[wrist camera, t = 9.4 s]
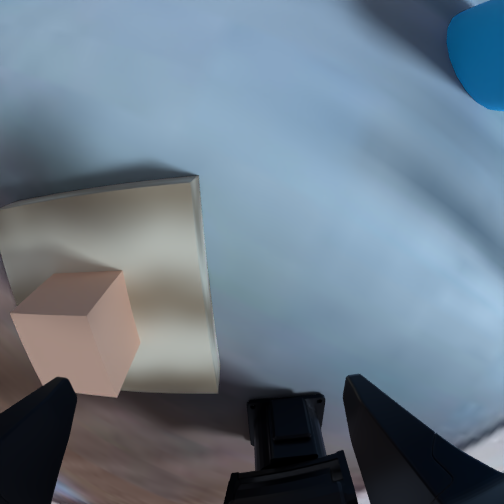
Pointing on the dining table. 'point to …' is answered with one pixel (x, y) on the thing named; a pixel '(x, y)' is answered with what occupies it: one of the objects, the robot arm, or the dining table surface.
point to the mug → (479, 52)
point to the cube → (80, 330)
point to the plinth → (129, 269)
